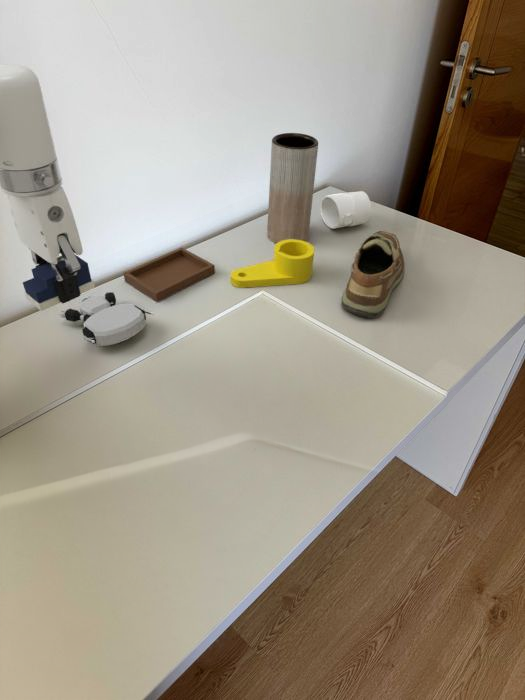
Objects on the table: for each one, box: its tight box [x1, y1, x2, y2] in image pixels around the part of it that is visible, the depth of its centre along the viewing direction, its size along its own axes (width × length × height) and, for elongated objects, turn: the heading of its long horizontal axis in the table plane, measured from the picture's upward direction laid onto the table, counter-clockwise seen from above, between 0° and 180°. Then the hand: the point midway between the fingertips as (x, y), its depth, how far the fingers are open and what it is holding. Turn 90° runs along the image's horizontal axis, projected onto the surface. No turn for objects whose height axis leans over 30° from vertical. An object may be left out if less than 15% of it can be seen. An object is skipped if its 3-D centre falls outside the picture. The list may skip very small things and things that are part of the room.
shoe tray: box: [123, 247, 216, 303], centre depth 110 cm, size 16×11×2 cm
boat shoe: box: [341, 230, 405, 319], centre depth 109 cm, size 11×29×11 cm, turn 162°
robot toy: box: [58, 290, 155, 347], centre depth 96 cm, size 12×4×15 cm
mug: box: [320, 190, 372, 230], centre depth 132 cm, size 12×9×8 cm
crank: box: [230, 239, 315, 289], centre depth 111 cm, size 18×8×6 cm, turn 110°
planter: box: [266, 132, 319, 244], centre depth 120 cm, size 10×10×23 cm
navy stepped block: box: [22, 254, 96, 312], centre depth 78 cm, size 9×4×4 cm, turn 136°
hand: (61, 291), depth 80 cm, fingers closed on navy stepped block, 4 cm apart
